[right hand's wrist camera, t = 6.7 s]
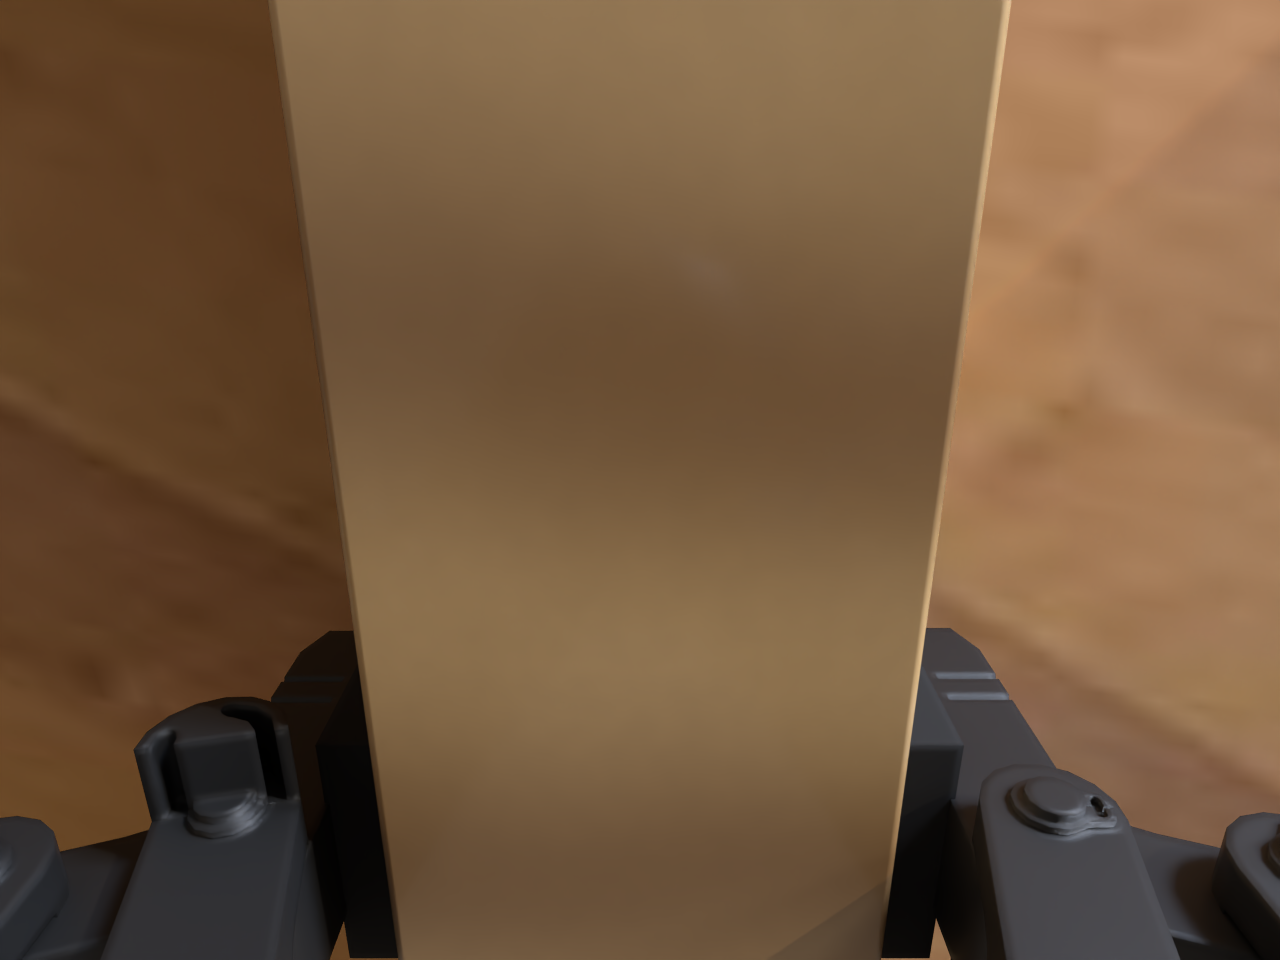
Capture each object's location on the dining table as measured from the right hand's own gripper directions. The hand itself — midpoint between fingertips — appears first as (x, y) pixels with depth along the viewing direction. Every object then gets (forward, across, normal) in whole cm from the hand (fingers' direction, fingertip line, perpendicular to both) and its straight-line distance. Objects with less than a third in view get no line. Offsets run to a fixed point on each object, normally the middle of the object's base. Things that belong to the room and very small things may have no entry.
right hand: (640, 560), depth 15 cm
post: (+1, 0, -22) cm, 22 cm away
